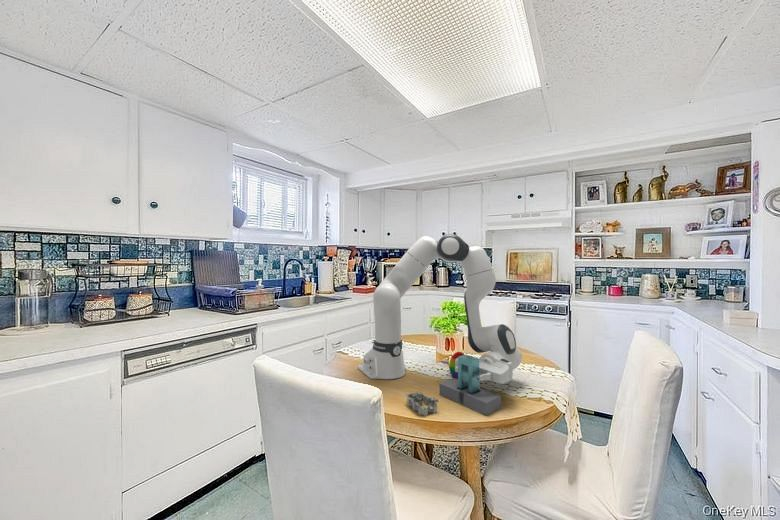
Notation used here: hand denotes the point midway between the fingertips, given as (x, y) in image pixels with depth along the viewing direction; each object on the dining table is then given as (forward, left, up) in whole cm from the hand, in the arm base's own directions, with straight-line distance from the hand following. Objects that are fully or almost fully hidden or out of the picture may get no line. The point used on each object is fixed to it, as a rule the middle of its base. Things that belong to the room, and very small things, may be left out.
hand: (467, 374), depth 113 cm
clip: (0, +1, -9) cm, 10 cm away
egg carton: (-7, -15, -10) cm, 19 cm away
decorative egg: (-17, +16, -10) cm, 25 cm away
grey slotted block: (0, +1, -9) cm, 10 cm away
